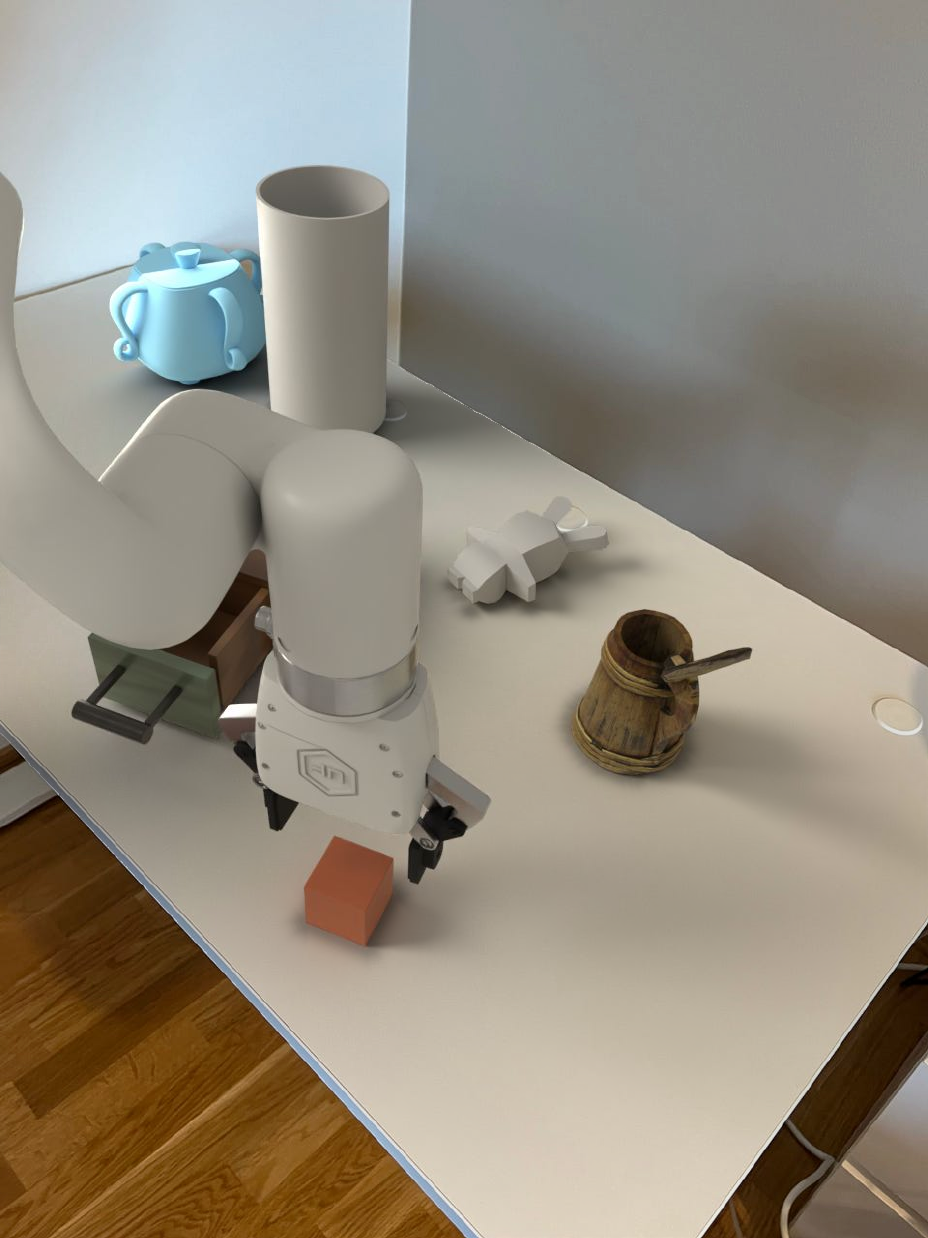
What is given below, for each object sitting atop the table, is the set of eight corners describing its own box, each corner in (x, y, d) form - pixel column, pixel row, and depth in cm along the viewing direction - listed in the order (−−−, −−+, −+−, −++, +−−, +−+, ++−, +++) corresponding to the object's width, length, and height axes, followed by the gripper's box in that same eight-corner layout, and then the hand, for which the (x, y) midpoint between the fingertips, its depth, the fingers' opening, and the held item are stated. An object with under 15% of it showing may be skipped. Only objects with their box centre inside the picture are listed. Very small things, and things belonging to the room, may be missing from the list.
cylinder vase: (249, 409, 118) (229, 182, 101) (340, 374, 124) (336, 155, 107) (316, 463, 112) (307, 230, 94) (408, 423, 118) (416, 199, 101)
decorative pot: (243, 405, 119) (233, 291, 109) (104, 384, 120) (82, 269, 110) (285, 334, 130) (279, 226, 121) (158, 315, 131) (143, 206, 122)
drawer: (176, 791, 79) (164, 732, 75) (58, 746, 82) (39, 685, 77) (292, 636, 92) (288, 577, 87) (187, 601, 94) (178, 541, 89)
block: (305, 923, 73) (303, 887, 70) (335, 871, 76) (334, 834, 73) (365, 947, 72) (365, 912, 69) (392, 893, 75) (394, 857, 72)
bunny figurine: (428, 538, 98) (555, 471, 103) (431, 577, 101) (553, 511, 107) (491, 597, 92) (621, 524, 98) (492, 636, 96) (617, 563, 102)
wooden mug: (626, 834, 80) (674, 670, 68) (554, 705, 89) (585, 539, 77) (728, 805, 83) (793, 642, 70) (649, 682, 92) (694, 518, 79)
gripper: (167, 649, 56) (204, 838, 68) (473, 755, 52) (456, 936, 64) (240, 565, 61) (263, 754, 73) (523, 655, 57) (499, 840, 69)
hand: (353, 839), depth 69 cm, fingers open, 9 cm apart
